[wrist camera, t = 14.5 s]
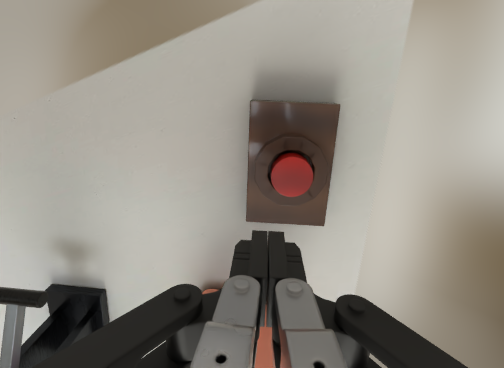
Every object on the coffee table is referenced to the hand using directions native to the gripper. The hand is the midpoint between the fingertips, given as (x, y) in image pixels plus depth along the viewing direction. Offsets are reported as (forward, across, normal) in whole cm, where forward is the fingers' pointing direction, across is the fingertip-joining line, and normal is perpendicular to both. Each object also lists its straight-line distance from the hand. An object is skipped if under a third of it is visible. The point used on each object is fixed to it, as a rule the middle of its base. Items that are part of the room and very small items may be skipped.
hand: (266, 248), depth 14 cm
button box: (+17, -2, 0) cm, 17 cm away
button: (+13, -2, 0) cm, 13 cm away
